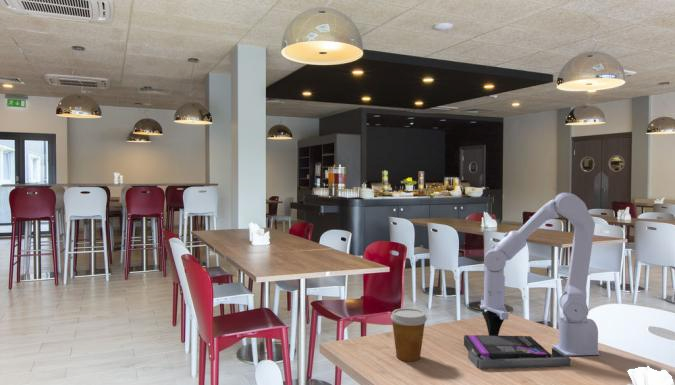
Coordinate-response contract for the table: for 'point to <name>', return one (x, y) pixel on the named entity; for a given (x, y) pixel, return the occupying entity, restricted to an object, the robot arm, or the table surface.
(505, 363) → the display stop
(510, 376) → the table surface
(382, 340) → the table surface
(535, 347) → the box
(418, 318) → the disposable coffee cup
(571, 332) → the robot arm
